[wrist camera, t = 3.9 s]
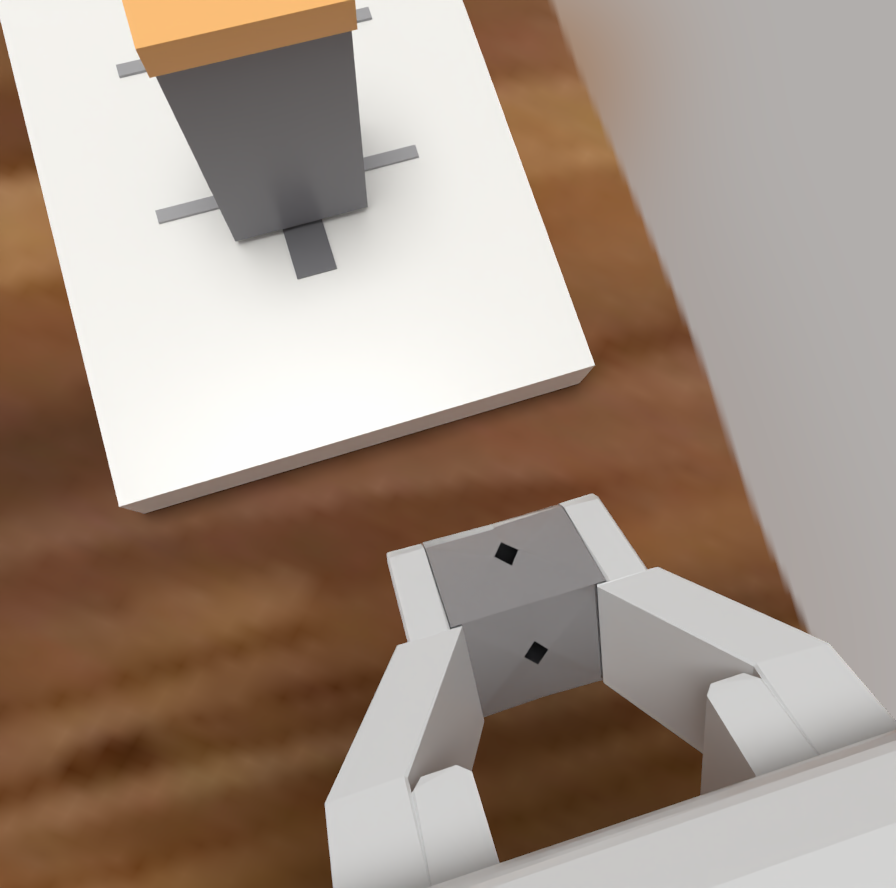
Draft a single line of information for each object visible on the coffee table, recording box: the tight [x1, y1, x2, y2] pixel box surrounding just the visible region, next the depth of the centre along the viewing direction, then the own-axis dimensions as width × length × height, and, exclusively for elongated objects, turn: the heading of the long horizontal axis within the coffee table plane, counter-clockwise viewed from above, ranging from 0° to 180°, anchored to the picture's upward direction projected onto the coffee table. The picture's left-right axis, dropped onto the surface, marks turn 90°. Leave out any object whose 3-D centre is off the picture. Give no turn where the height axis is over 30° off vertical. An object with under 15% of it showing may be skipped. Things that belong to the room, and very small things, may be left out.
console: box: [0, 0, 595, 514], centre depth 24 cm, size 28×14×2 cm, turn 18°
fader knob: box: [122, 0, 368, 242], centre depth 18 cm, size 3×4×8 cm
